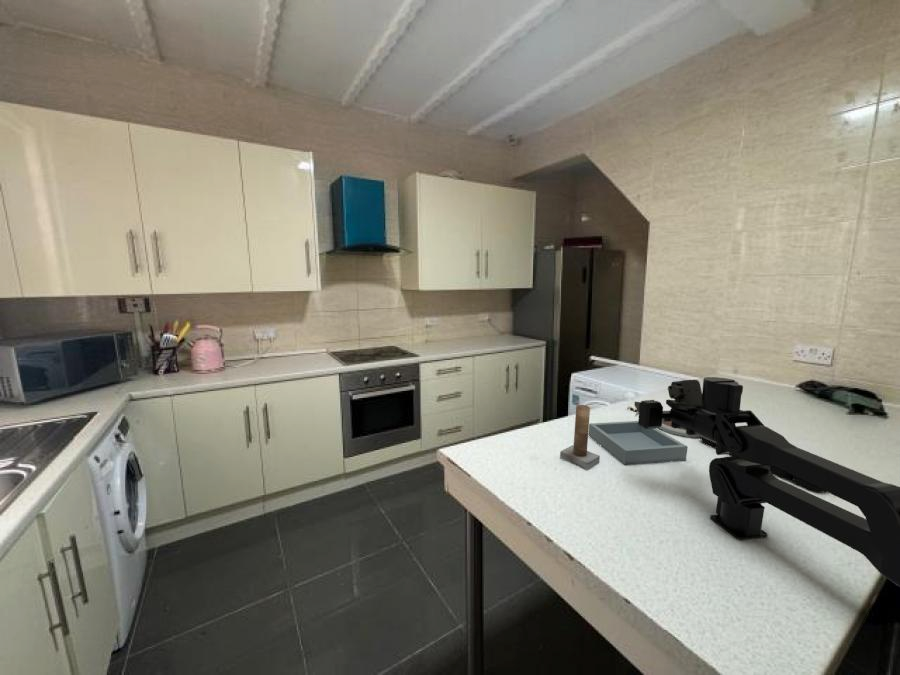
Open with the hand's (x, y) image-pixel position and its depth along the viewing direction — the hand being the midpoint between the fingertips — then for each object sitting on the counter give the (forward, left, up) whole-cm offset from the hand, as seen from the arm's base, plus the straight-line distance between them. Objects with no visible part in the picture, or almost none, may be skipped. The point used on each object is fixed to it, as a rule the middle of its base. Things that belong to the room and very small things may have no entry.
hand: (650, 402), depth 92 cm
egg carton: (-3, -33, -17) cm, 37 cm away
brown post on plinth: (+4, +17, -17) cm, 24 cm away
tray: (+9, -3, -17) cm, 19 cm away
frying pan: (+25, -26, -17) cm, 40 cm away
